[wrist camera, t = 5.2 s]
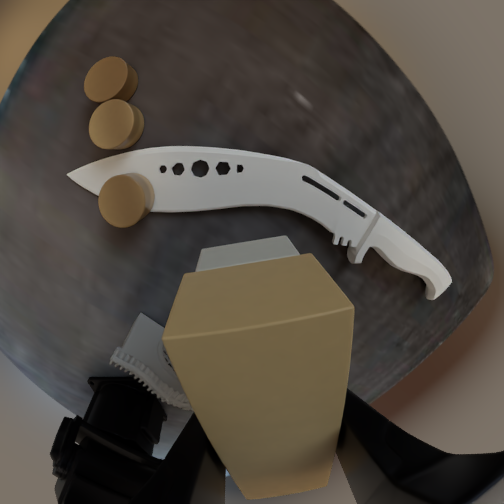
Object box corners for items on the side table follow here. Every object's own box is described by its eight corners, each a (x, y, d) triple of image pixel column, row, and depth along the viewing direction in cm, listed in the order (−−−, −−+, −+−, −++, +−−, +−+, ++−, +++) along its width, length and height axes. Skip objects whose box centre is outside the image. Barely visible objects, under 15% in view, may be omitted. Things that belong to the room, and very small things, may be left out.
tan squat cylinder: (119, 226, 16) (107, 234, 14) (105, 182, 15) (91, 185, 13) (161, 212, 16) (152, 219, 14) (147, 165, 15) (136, 167, 13)
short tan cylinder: (106, 155, 15) (92, 156, 13) (100, 113, 14) (85, 109, 12) (148, 141, 15) (137, 140, 13) (141, 98, 14) (130, 91, 12)
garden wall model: (263, 379, 22) (271, 434, 16) (249, 390, 22) (255, 443, 16) (139, 306, 18) (112, 358, 13) (129, 321, 19) (102, 373, 13)
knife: (58, 179, 14) (105, 69, 12) (71, 176, 15) (116, 75, 13) (405, 349, 20) (457, 276, 18) (398, 339, 21) (447, 269, 19)
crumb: (99, 113, 14) (85, 109, 12) (96, 74, 13) (82, 67, 11) (140, 98, 14) (129, 91, 12) (136, 59, 13) (125, 49, 11)
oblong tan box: (240, 421, 13) (246, 500, 8) (192, 249, 9) (159, 338, 5) (305, 411, 13) (327, 486, 8) (295, 233, 9) (355, 305, 5)
